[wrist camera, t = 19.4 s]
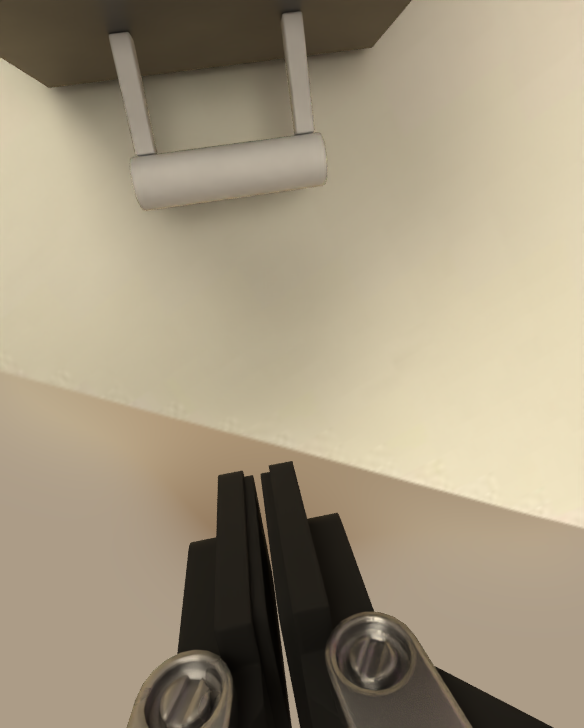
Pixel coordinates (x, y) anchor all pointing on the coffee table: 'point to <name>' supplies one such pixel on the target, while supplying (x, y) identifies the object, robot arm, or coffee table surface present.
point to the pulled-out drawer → (190, 52)
